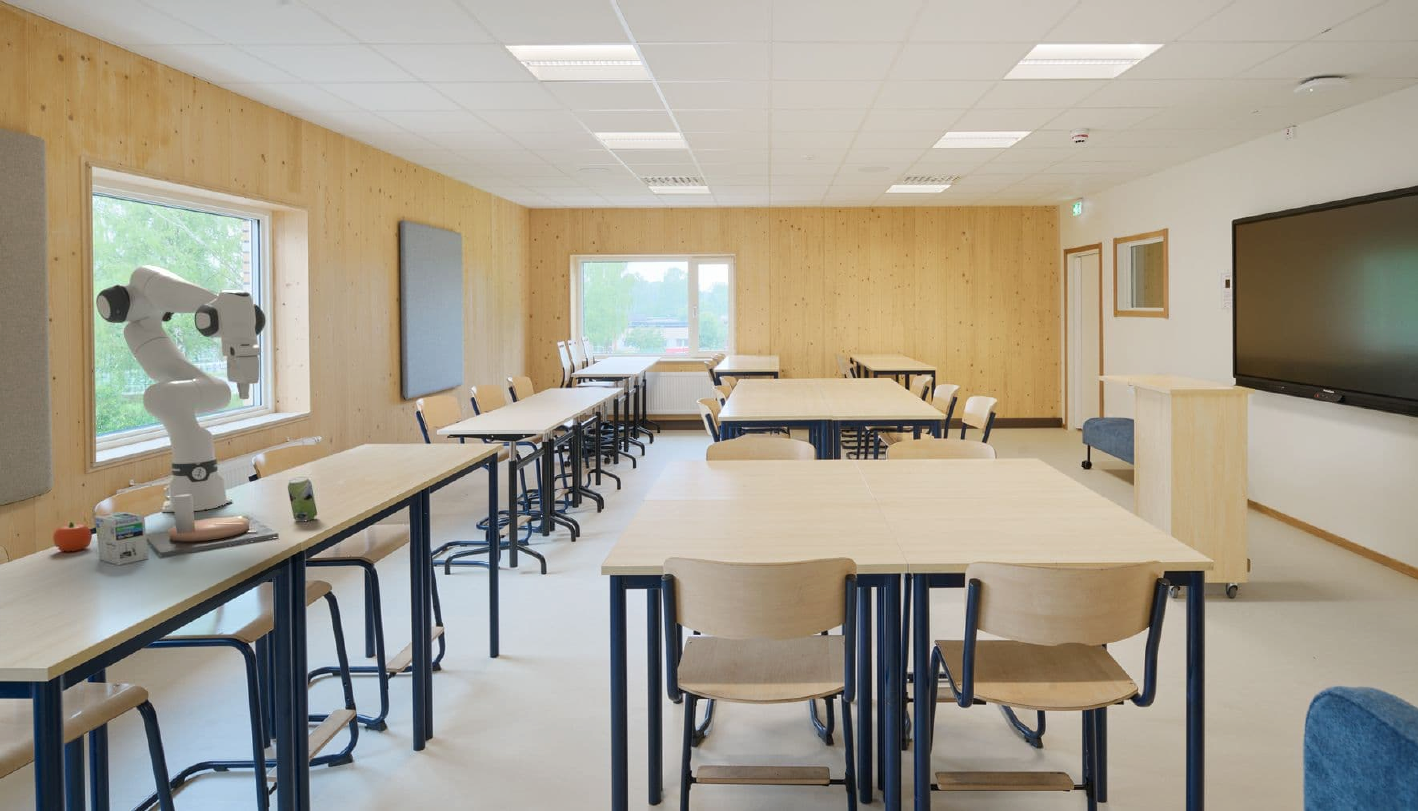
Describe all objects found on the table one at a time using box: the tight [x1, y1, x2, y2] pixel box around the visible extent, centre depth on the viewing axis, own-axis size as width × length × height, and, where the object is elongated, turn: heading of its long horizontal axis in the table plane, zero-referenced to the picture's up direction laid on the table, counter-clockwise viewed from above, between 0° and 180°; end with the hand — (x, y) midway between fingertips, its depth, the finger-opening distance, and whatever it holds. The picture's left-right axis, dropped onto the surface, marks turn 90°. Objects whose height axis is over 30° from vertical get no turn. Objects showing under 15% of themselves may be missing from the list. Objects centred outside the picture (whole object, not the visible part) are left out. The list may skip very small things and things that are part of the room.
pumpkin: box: [52, 521, 93, 553], centre depth 223 cm, size 8×8×7 cm
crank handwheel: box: [168, 494, 249, 541], centre depth 231 cm, size 18×18×11 cm
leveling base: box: [146, 514, 279, 559], centre depth 232 cm, size 26×26×3 cm
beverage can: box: [287, 476, 318, 522], centre depth 250 cm, size 6×7×12 cm
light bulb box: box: [94, 510, 149, 566], centre depth 213 cm, size 11×7×11 cm, turn 56°
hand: (244, 399), depth 250 cm, fingers closed
